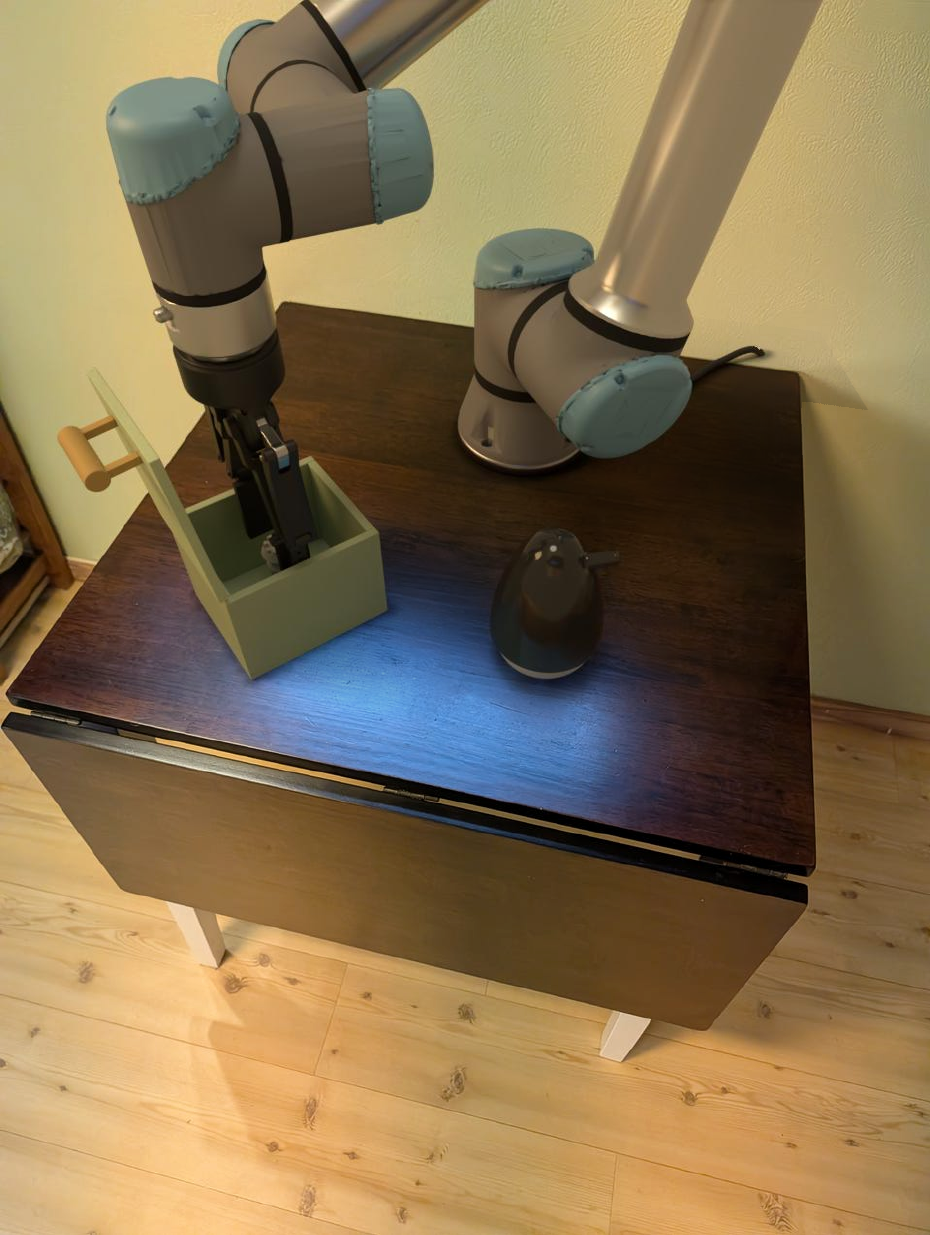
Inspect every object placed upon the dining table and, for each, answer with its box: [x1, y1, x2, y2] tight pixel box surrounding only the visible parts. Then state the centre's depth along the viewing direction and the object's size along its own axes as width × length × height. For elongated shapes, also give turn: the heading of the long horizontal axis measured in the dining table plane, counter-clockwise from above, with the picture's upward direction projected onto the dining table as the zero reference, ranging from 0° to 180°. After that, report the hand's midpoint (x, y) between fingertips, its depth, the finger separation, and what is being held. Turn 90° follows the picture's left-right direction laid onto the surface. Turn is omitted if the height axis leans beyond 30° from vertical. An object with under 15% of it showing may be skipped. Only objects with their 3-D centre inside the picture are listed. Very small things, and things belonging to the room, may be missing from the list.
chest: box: [171, 455, 388, 681], centre depth 79 cm, size 15×13×11 cm
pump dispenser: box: [489, 526, 621, 680], centre depth 73 cm, size 10×10×15 cm
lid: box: [56, 366, 228, 603], centre depth 65 cm, size 16×13×5 cm
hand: (280, 555), depth 78 cm, fingers open, 7 cm apart
